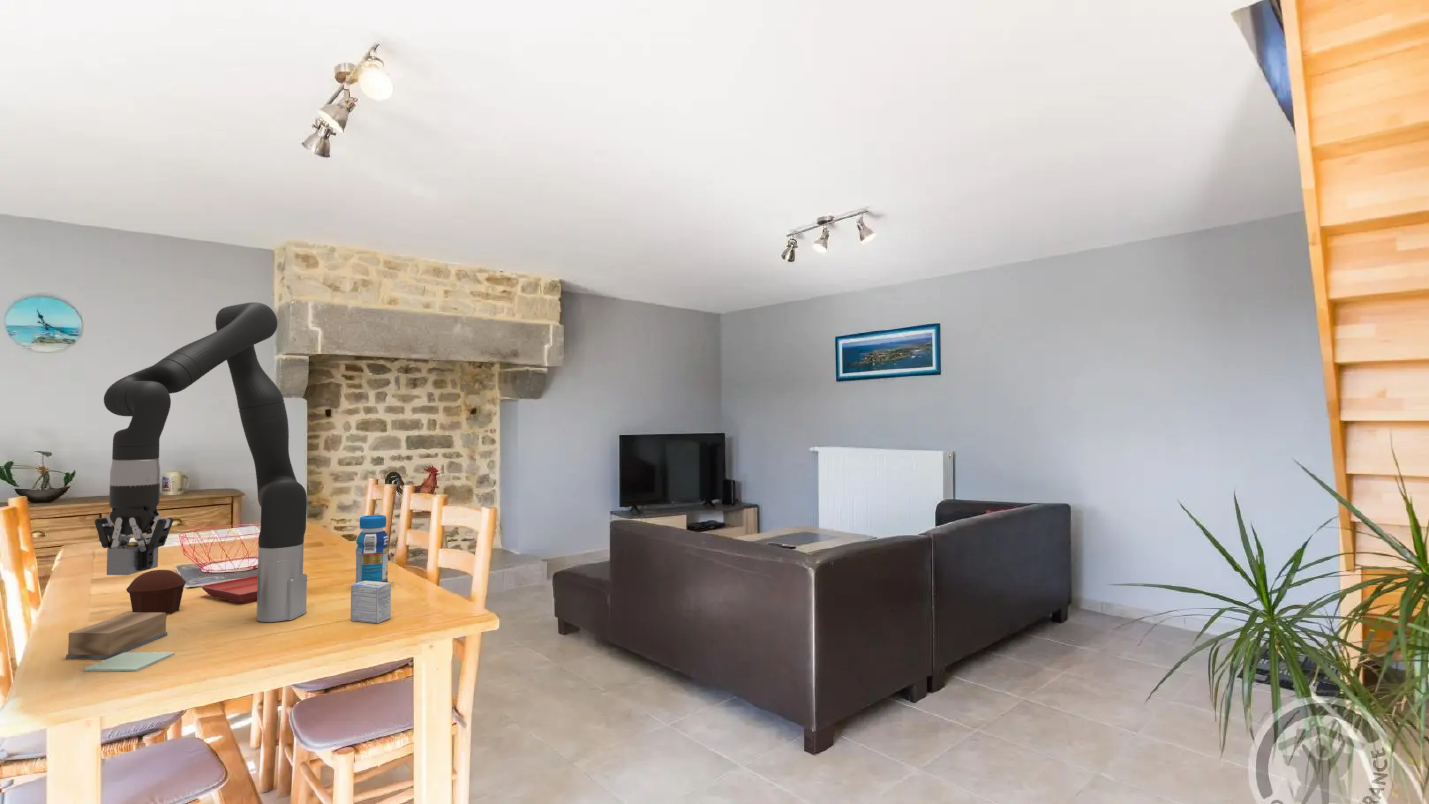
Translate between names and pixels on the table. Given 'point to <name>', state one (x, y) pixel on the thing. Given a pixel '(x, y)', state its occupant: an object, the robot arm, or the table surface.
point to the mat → (129, 661)
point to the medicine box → (370, 601)
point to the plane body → (116, 635)
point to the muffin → (156, 592)
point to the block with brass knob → (126, 559)
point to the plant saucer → (234, 589)
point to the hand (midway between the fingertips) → (132, 569)
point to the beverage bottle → (372, 550)
